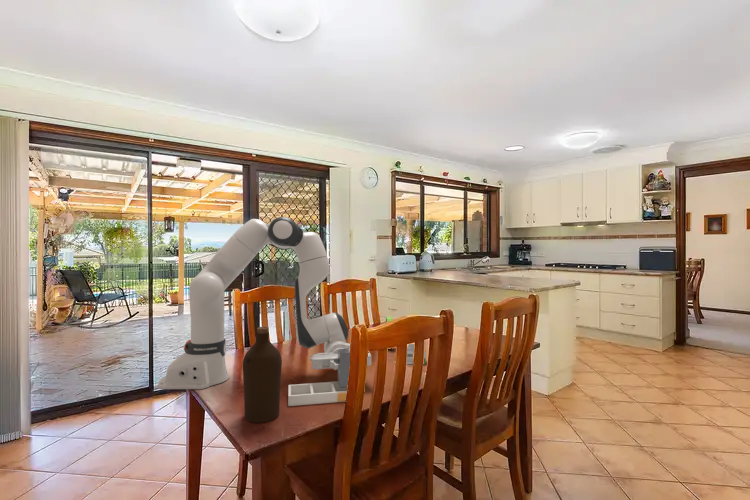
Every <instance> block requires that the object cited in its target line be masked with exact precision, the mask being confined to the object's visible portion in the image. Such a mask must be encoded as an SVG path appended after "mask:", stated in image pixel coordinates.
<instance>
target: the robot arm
mask: <svg viewBox="0 0 750 500" xmlns="http://www.w3.org/2000/svg"><path fill="white" fill-rule="evenodd" d="M267 245H269V246H271V247H274V248H275V249H279V250H283V251H287V250H290V249H292V251H294V253H295V255H296V257H297V261H298V266H299V273H298V277H297V278H296V279H295V280H294V300H295V301H294V304H295V315H296V328H295V330H296V331H295V334H296V335H295V336H296V340H297V343H298V344H299V345H300V346H301V347H303V348H305V349H311V348H314V347H316V346H318V345H320V344H323V345H324V346H323V350H324V352H316V353H313V354H312V356H310V357H309V361H310V362H311V369H313V370H325V369H326V370H327V369H333V370H334V371H338V370H339V363H338V349H349V351H350V344H351V343H348V342H347V340H348V338H349V330H348V326H347V323H346V322H345V320H344V318H343V317H344V316H342V315H341V314H339V313H337V312H331V313H327V314H324V315H321V316H317V317H314V318H310V319H309V318H308V312H307V301H306V300H307V299H306V298H307V296H308V293H309V292H311V290H313V289H314V288H315V287H317V286H318V285H320V284H321V283H322V282H323V281H324V280H326V278H327V277H328V275H329V274H330V261H329V257H328V253H327V250H326V248H325V246H324V243H323V240H322V238H321V237H320V235H319V233H317V232H315V231H305V232H304V230H303V229H302V228H301V227H300V226H299V225H298V223H296V221H294V219H292V218H290V217H287V216H279V217H276V218H274V219H272V221H271V222H270V223H266V222H264V221H263V220H261V219H258V218H252V219H249V220H248V221H246V222H245V223H244V224H243V225H241V226H240V227H239V229H237V230H236V231H235V232H234V233H233V234H232V236H231V237H230V238H229V239H227V241H226V242H225V243H224V244H223V245H222V246H221V248H220V249H219V250H218V251H217V252H216V253H215V255H214V256H213V257H212V258H211V259H210V260H209V261H208V262H207V263H206V264H205V266H204V267H203V268H202V269H201V270H200V272H199V273H198V274H197V275H195V277H193V278H192V280H191V282H190V284H189V289H188V290H189V291H188V293H189V295H188V296H189V310H190V311H189V313H190V339H188V340H187V341H185V344H184V345H183V350H184V352H183V353H182V354H181V355H180V356H178V357H177V358H176V359H175V360H173V361H172V362H171V363H170V364H169V365H168V367H167V369H166V372H165V376H164V377H162V378H161V379H160V380H159V382H158V383H157V387H158V390H202V389H203V390H204V389H207V388H209V387H211V386H215V385H219V384H221V383H224V382H225V381H227V380H228V379H229V378H230V376H229V372H228V368H227V364H226V354H227V353H226V352H227V350H226V349H227V343H226V342H227V341H226V338H225V291H226V289H227V288H228V287H229V286H230V285H231V284H232V282H233V281H235V279H236V278H238V276H239V275H240V274H241V273H242V272H243V271H244V270H245V269H246V268H247V267H248V266H249V264H250V263H251V262H252V260H253V259H255V257H256V256H257V255H258V254H259V252H261V250H262V249H263V248H264V247H265V246H267ZM371 365H372V354H371V353H370V352H369V353H368V357H367V366H366V367H369V366H371Z"/></svg>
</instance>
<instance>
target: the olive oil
mask: <svg viewBox="0 0 750 500" xmlns="http://www.w3.org/2000/svg"><path fill="white" fill-rule="evenodd" d="M269 330H270V329H269V327H268V326H258V327H257V328H256V341H255V342H254V344H253V345H252V346H251V347H250V348H249V349H248V350H247V352H245V354H244V357H243V361H242V374H243V375H242V376H243V396H244V397H243V398H244V399H243V400H244V419H245V420H246V421H247V422H250V423H255V424H257V423H258V424H259V423H260V424H261V423H268V422H270V421H273V420H275V419H277V418H278V416H279V414H280V402H281V401H280V400H281V399H280V398H281V379H282V363H283V360H282V356H281V353H280V351H279V350H278V348H276V347H275V345H274V344H273V343H272V342H271V341H270V340H269V338H270V337H269V336H270V332H269Z"/></svg>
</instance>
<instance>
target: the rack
mask: <svg viewBox="0 0 750 500" xmlns="http://www.w3.org/2000/svg"><path fill="white" fill-rule="evenodd" d="M287 387H288V402H287V406H288V407H295V406H308V405H318V404H319V405H321V404H330V403H344V402H346V401H345V399H346V394H347V387H345V388H340V387H339V384H338V380H337V381H327V382H326V381H324V382H323V381H322V382H309V383H299V384H296V383H295V384H288V386H287Z"/></svg>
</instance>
